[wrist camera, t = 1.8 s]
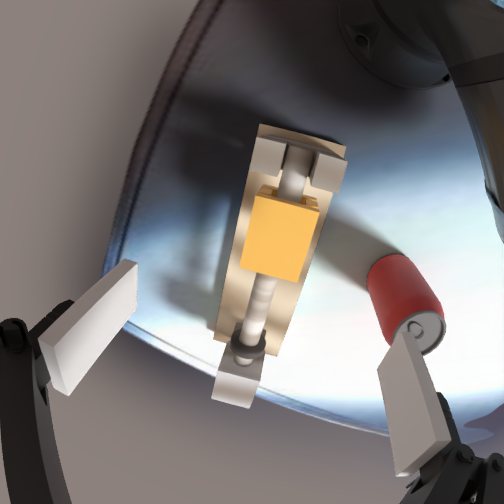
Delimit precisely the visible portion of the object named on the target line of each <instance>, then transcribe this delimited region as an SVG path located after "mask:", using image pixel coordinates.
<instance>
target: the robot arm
mask: <svg viewBox="0 0 504 504" xmlns="http://www.w3.org/2000/svg"><path fill="white" fill-rule="evenodd" d="M338 23H339V28H340V31H341V34H342V36H343V39H344V41H345V43H346V45H347V46H348V48H349V49H350V51H351V52H352V54H353V55H354V56H355V57H356V58H357V60H358V61H359V62H360V63H361V64H362V65H363V66H364V67H366V68H367V69H368V70H369V71H370V72H372V73H373V74H375V75H376V76H378V77H379V78H381V79H383V80H385V81H387V82H389V83H391V84H393V85H396V86H399V87H403V88H407V89H415V90H423V89H430V88H435V87H439V86H442V85H445V84H447V83H449V82H451V81H452V80H453V82H454V84H455V88H456V90H457V92H458V95H459V97H460V100H461V102H462V105H463V108H464V110H465V113H466V116H467V118H468V121H469V124H470V127H471V130H472V133H473V136H474V139H475V142H476V145H477V149H478V152H479V156H480V160H481V163H482V168H483V172H484V176H485V189H486V193H487V196H488V198H489V200H490V202H491V205H492V209H493V213H494V218H495V223H496V227H497V230H498V233H499V236H500V238H501V240H502V241H503V243H504V0H340V2H339V6H338ZM137 275H138V263H137V262H134V261H131V260H127V259H124V260H122V261H121V262H120V263H119V264H118V265H116V266H115V267H114V268H113V269H112V270H111V271H110V272H108V273H107V274H106V275H105V276H104V277H103V278H102V279H100V280H99V281H98V282H97V283H96V284H95V285H94V286H93V287H92V288H90V289H89V290H88V291H87V292H86V293H85V294H84V295H83V296H82V297H81V298H79V300H77V301H76V302H74V301H72V300H67V301H64V302H62V303H60V304H58V305H57V306H56V307H55V308H54V309H53V310H52V312H50V313H48V314H47V315H46V317H44V318H43V319H42V320H41V321H40V322H39V323H38V324H37V325H35V326H34V327H33V328H32V329H31V330H30V331H29V332H28V330H27V326H26V324H25V323H24V321H23V320H21V319H18V318H10V319H6V320H4V321H3V322H1V323H0V427H1V428H0V429H1V442H2V453H3V461H4V468H5V475H6V481H7V487H8V492H9V497H10V502H11V504H72V503H71V500H70V496H69V493H68V489H67V486H66V483H65V479H64V475H63V471H62V468H61V463H60V459H59V455H58V450H57V446H56V441H55V436H54V431H53V424H52V418H51V412H50V405H49V398H48V389H47V386H46V384H47V383H48V382H49V381H50V379H51V381H52V384H53V387H54V388H55V389H57V390H58V391H60V392H62V393H63V394H65V395H67V396H69V395H70V394H71V393H72V391H73V390H74V388H75V387H76V386H77V384H78V383H79V382H80V380H81V379H82V378H83V376H84V375H85V374H86V372H87V371H88V370H89V369H90V367H91V366H92V364H93V363H94V362H95V361H96V359H97V358H98V357H99V355H100V354H101V353H102V352H103V350H104V349H105V348H106V346H107V345H108V344H109V343H110V341H111V340H112V339H113V338H114V336H115V335H116V334H117V333H118V331H119V330H120V329H121V327H122V326H123V325H124V324H125V323H126V321H127V320H128V319H129V318H130V316H131V315H132V314H133V313H134V311H135V310H136V309H137ZM377 372H378V376H379V381H380V385H381V390H382V395H383V400H384V405H385V411H386V416H387V422H388V427H389V433H390V439H391V446H392V451H393V459H394V466H395V474H396V476H411V475H412V474H414V473H415V472H416V471H417V470H419V469H420V476H419V477H418V478H416V479H415V480H414V481H412V482H411V483H410V484H408V485H407V487H406V488H409V487H410V486H411V485H412V486H411V488H410V489H409V491H408V492H407V494H406V495H405V497H404V498H403V500H402V501H401V502H400V504H504V457H503V456H502V455H501V454H499V453H493V454H491V455H490V456H489V457H488V458H486V459H483V458H479V457H475V455H474V452H473V451H472V449H471V448H470V447H469V446H467V445H465V444H461V441H460V438H459V435H458V432H457V429H456V426H455V423H454V420H453V419H452V414H451V411H450V408H449V405H448V402H447V400H446V399H445V398H444V396H443V395H442V394H441V392H436V391H435V388H434V385H433V382H432V380H431V377H430V374H429V372H428V369H427V366H426V364H425V361H424V359H423V356H422V354H421V351H420V349H419V346H418V344H417V342H416V339H415V337H414V335H413V332H408V331H403V330H400V331H399V333H398V335H397V336H396V338H395V340H394V342H393V344H392V345H391V347H390V349H389V350H388V352H387V354H386V355H385V357H384V359H383V360H382V362H381V364H380V365H379V367H378V369H377ZM475 496H476V501H475V502H474V498H475Z"/></svg>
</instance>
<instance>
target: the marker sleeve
mask: <svg viewBox="0 0 504 504" xmlns="http://www.w3.org/2000/svg"><path fill="white" fill-rule="evenodd" d="M277 191H278V187H274V186H271V185H267V184H263V185H262V187H261V188H260V189H259V191H258V193H257V194H256V196H255V200H254V205H253V209H252V213H251V218H250V222H249V226H248V230H247V235H246V239H245V243H244V248H243V252H242V256H241V261H240V265H239V268H243V269H246V270H250V271H254V272H258V273H261V274H265V275H269V276H273V277H276V278H280V279H284V280H288V281H291V282H295V283H297V282H298V279H299V276H300V273H301V270H302V267H303V264H304V261H305V258H306V255H307V252H308V249H309V246H310V242H311V239H312V236H313V233H314V230H315V226H316V223H317V220H318V217H319V213H320V212H319V209H318V208H319V207H318V203H317V198H315V197H311V196H308V195H304V194H303V195H302V199H301V202H300V204H299V203H295V202H291V201H288V200H284V199H280V198H276V195H277Z"/></svg>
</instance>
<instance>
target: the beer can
mask: <svg viewBox="0 0 504 504" xmlns="http://www.w3.org/2000/svg"><path fill="white" fill-rule="evenodd" d="M367 288H368V291H369V294H370V297H371V300H372V303H373V306H374V309H375V312H376V315H377V318H378V321H379V324H380V327H381V330H382V333H383V336H384V338H385V340H386V341H387V343H388V344H389V345H390V346H391V345H392V344H393V342H394V340H395V338H396V336H397V335H398V333H399V331H400V330H403V331H408V332H413V335H414V337H415V339H416V342H417V344H418V346H419V349H420V351H421V354H422V356H425V355H427V354H428V353H430V352H432V351H433V350H434V349H435V348H436V347H437V346H438V345H439V344H440V343H441V341H442V340H443V338H444V335H445V333H446V323H445V320H444V312H443V309H442V306H441V303H440V302H439V300H438V298H437V297H436V295H435V294H434V292H433V291H432V289H431V288H430V286H429V285H428V283H427V282H426V281H425V279H424V278H423V276H422V275H421V273H420V272H419V270H418V269H417V268H416V266H415V265H414V263H413V262H412V261H411V260H410V259H409V258H407V257H405V256H403V255H396V254H393V255H388V256H385V257H383V258H381V259H380V260H378V261H377V262H376V263H375V264H374V265H373V266H372V268H371V270H370V271H369V273H368V277H367Z"/></svg>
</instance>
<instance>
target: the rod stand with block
mask: <svg viewBox="0 0 504 504" xmlns="http://www.w3.org/2000/svg"><path fill="white" fill-rule="evenodd" d="M345 149H346V147H345V146H343V145H339V144H336V143H333V142H329V141H326V140H323V139H319V138H316V137H312V136H308V135H305V134H301V133H297V132H293V131H289V130H285V129H281V128H277V127H273V126H269V125H264V124H260V125H259V129H258V133H257V138H256V142H255V146H254V151H253V155H252V159H251V164H250V168H249V173H248V177H247V181H246V186H245V190H244V195H243V199H242V204H241V208H240V213H239V218H238V222H237V227H236V231H235V236H234V241H233V245H232V250H231V255H230V259H229V264H228V269H227V274H226V278H225V283H224V288H223V293H222V298H221V303H220V308H219V313H218V317H217V322H216V327H215V332H214V338H213V340H217V341H220V342H224V343H227V345H226V348H225V350H224V353H223V356H222V359H221V362H220V365H219V368H218V371H217V376H216V380H215V385H214V389H213V393H212V399H215V400H219V401H222V402H226V403H230V404H233V405H237V406H241V407H246V408H250V406H251V403H252V401H253V398H254V395H255V393H256V390H257V388H258V385H259V382H260V378H261V372H262V367H263V361H264V356H265V354H269V355H273V356H277V355H278V353H279V350H280V348H281V345H282V342H283V340H284V337H285V334H286V332H287V329H288V326H289V324H290V321H291V318H292V315H293V313H294V310H295V307H296V304H297V301H298V299H299V296H300V293H301V290H302V287H303V284H304V282H305V279H306V276H307V273H308V270H309V267H310V264H311V261H312V258H313V255H314V252H315V249H316V246H317V243H318V240H319V237H320V233H321V230H322V227H323V224H324V221H325V218H326V214H327V211H328V208H329V205H330V201H331V198H332V195H333V193H336V194H338V193H339V190H340V187H341V183H342V180H343V177H344V173H345V170H346V166H347V163H348V162H347V161H346V160H345V159H343V157H344V153H345ZM263 184H267V185H271V186H274V187H278V191H277V195H276V198H280V199H284V200H288V201H291V202H295V203H299V204H300V202H301V199H302V195H303V194H304V195H308V196H311V197H315V198H317V203H318V207H319V208H318V209H319V212H320V213H319V217H318V220H317V223H316V226H315V230H314V233H313V236H312V239H311V242H310V246H309V249H308V252H307V255H306V258H305V261H304V264H303V267H302V270H301V273H300V276H299V279H298V282H297V283H295V282H291V281H288V280H284V279H280V278H276V277H273V276H269V275H265V274H261V273H258V272H254V271H250V270H246V269H243V268H239V265H240V261H241V256H242V252H243V248H244V243H245V239H246V235H247V230H248V226H249V222H250V218H251V213H252V209H253V205H254V200H255V196H256V194H257V193H258V191H259V189H260V188H261V187H262V185H263Z"/></svg>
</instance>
